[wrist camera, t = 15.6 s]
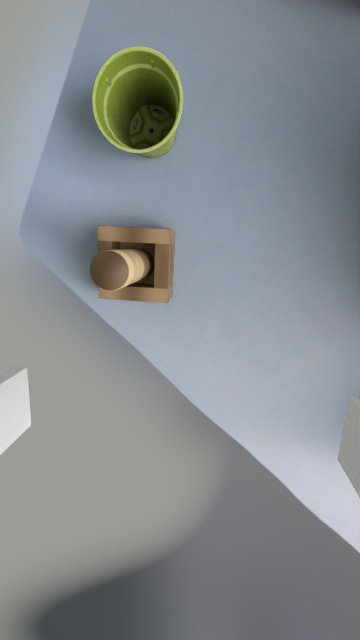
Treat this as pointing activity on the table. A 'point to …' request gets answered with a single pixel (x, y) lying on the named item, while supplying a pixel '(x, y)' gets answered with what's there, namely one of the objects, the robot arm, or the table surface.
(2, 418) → the robot arm
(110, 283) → the dowel
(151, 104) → the plant pot
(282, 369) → the table surface
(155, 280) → the socket block
